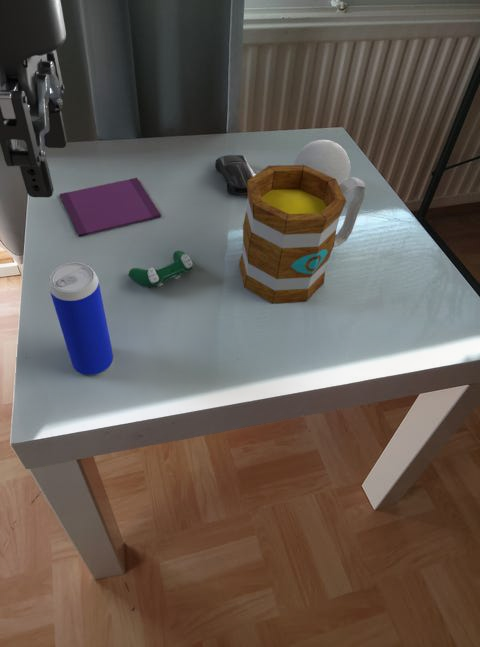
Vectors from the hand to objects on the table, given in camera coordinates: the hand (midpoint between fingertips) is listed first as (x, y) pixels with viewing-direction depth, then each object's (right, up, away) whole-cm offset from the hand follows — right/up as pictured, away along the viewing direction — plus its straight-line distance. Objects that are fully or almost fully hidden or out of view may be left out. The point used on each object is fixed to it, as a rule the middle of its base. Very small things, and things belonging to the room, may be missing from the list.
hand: (49, 169), depth 49 cm
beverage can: (0, -20, +16) cm, 26 cm away
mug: (+28, -6, +31) cm, 42 cm away
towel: (-4, +5, +37) cm, 38 cm away
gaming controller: (+7, -8, +27) cm, 29 cm away
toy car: (+18, +12, +45) cm, 50 cm away
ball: (+33, +9, +44) cm, 56 cm away
